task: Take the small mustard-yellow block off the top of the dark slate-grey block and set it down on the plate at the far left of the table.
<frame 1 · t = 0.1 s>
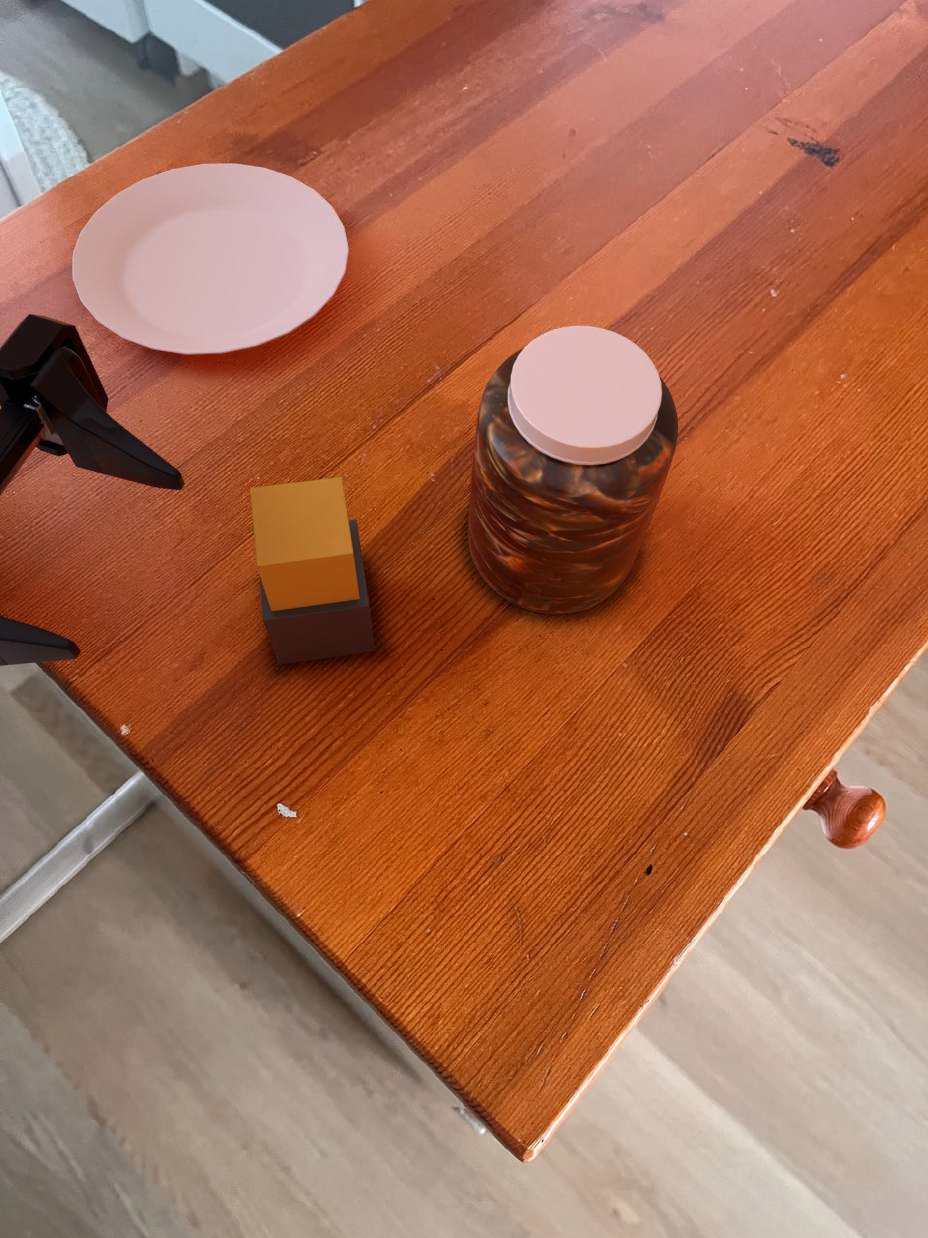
hand: (131, 561, 39), 17 cm above the table, tool horizontal, fingers open, 9 cm apart
top block: (311, 568, 52), point 6 cm above the table, touching base block
plate: (218, 276, 71), on the table
base block: (322, 616, 57), on the table, touching top block
jar: (551, 539, 61), on the table
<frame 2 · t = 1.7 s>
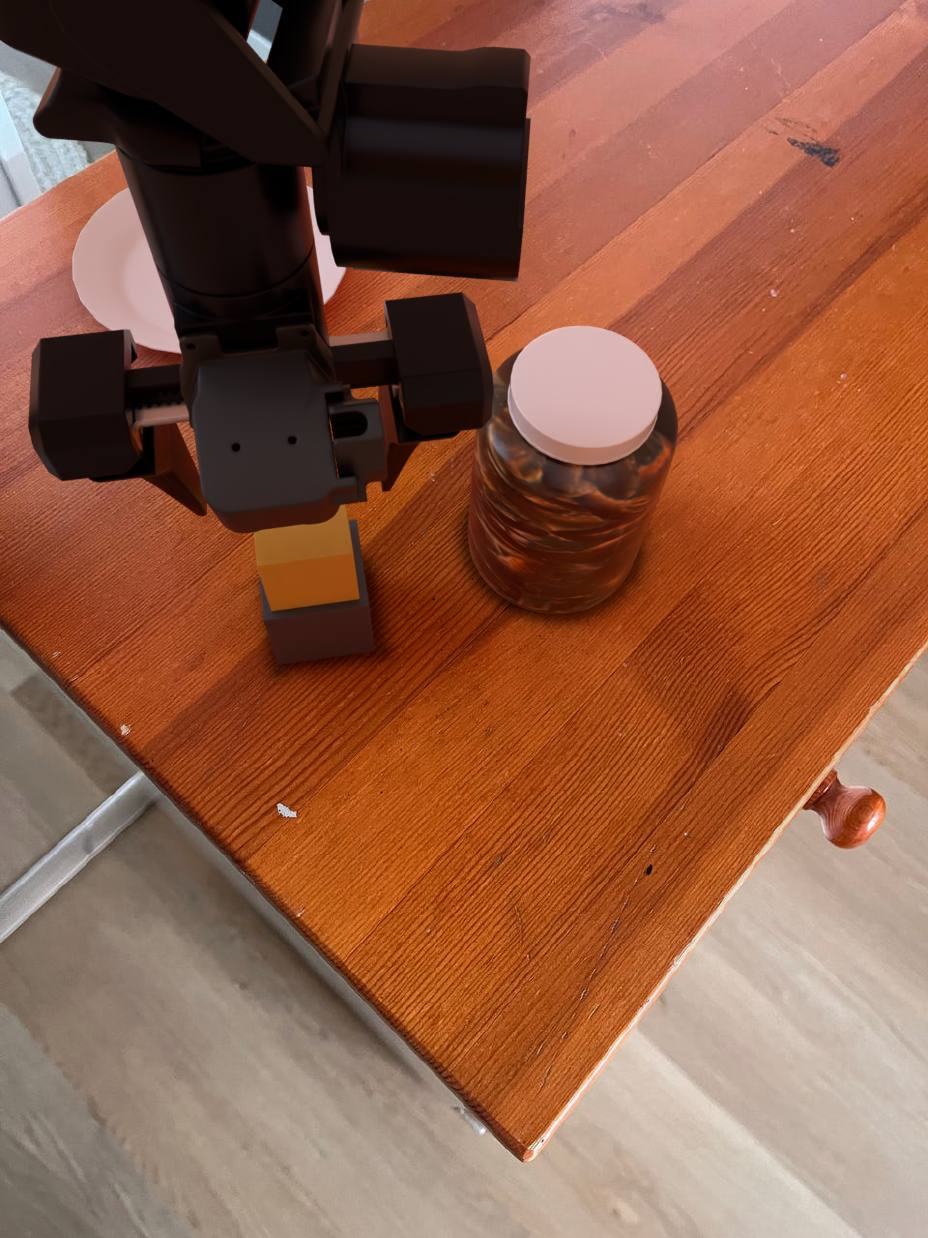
hand: (295, 496, 46), 13 cm above the table, tool pointing down, fingers open, 9 cm apart
nothing on the table moved.
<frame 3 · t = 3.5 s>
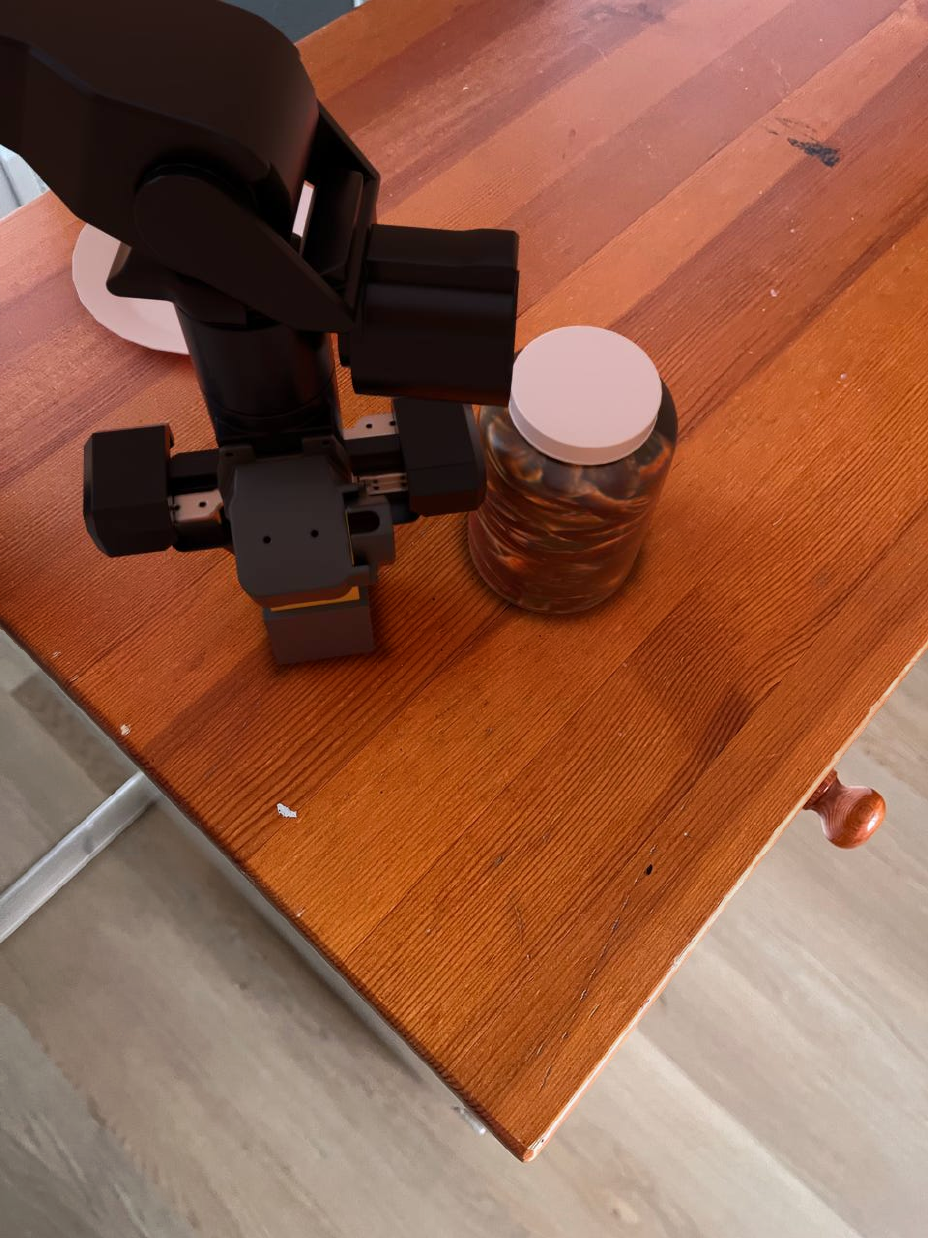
hand: (308, 559, 51), 7 cm above the table, tool pointing down, fingers closed on top block, 5 cm apart
top block: (311, 568, 52), point 6 cm above the table, touching base block, gripper
everything else where it was.
when the fingers open (3 cm above the table, at t = 9.7 s): top block stays where it is, resting on plate.
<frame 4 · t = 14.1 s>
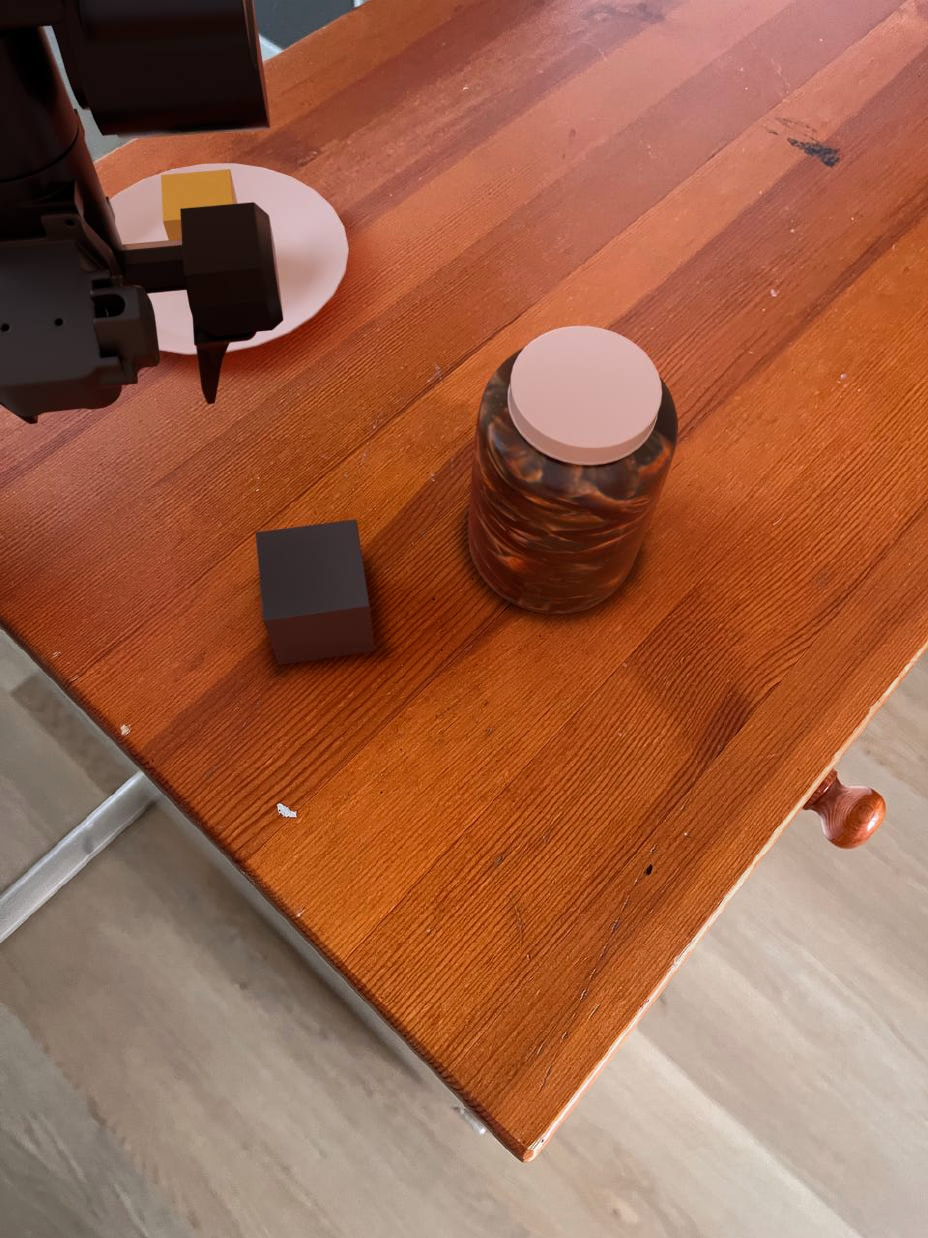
hand: (123, 407, 48), 13 cm above the table, tool pointing down, fingers open, 9 cm apart
top block: (211, 251, 69), point 2 cm above the table, touching plate
plate: (218, 276, 71), on the table, touching top block
base block: (322, 616, 57), on the table
everything else where it was.
at the end: top block inside the target area on the plate (0.0 cm from its centre), point 2.5 cm above the plate's base; base block moved 0.0 cm from its start; top block tilted 0° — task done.
